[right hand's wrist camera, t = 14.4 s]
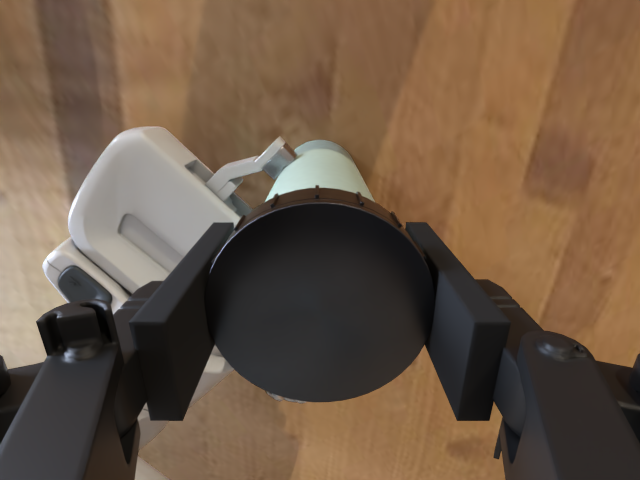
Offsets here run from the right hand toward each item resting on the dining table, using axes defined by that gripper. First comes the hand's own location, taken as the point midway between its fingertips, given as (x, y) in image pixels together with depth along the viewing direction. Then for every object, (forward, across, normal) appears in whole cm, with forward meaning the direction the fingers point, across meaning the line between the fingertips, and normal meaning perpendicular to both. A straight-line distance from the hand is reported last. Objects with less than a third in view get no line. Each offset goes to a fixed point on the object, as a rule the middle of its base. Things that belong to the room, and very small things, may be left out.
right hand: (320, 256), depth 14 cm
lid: (-4, 0, 0) cm, 4 cm away
